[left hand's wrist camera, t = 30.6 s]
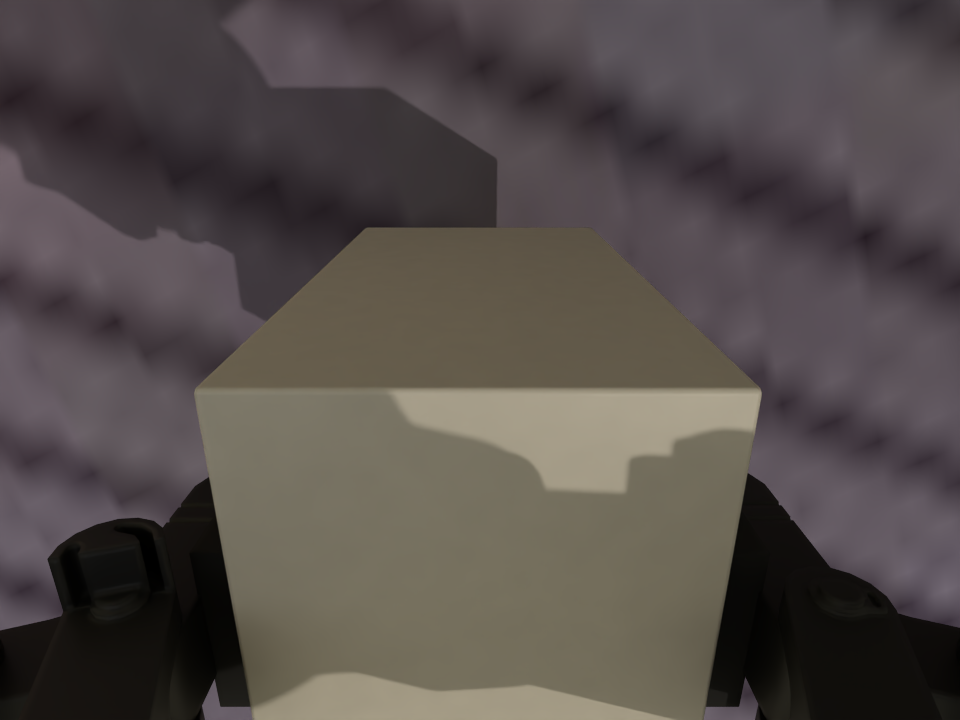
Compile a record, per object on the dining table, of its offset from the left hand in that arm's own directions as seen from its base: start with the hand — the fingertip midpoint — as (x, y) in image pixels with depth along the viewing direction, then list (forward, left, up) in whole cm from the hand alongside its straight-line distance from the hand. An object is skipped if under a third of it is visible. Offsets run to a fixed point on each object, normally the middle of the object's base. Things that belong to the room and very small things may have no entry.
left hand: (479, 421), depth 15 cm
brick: (0, 0, -4) cm, 4 cm away
